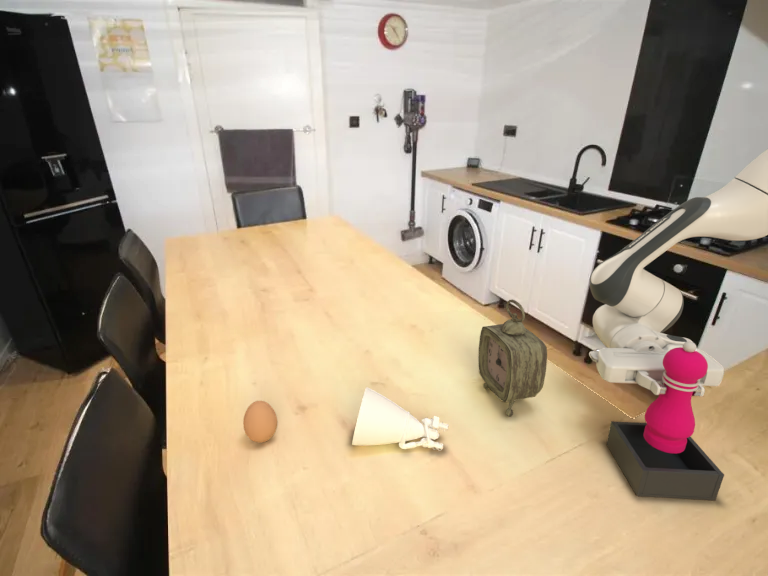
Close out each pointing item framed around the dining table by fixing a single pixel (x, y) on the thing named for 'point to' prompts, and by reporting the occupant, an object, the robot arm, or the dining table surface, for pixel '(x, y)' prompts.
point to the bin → (663, 466)
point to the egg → (260, 421)
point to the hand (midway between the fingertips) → (680, 392)
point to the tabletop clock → (512, 360)
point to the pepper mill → (675, 400)
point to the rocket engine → (392, 424)
